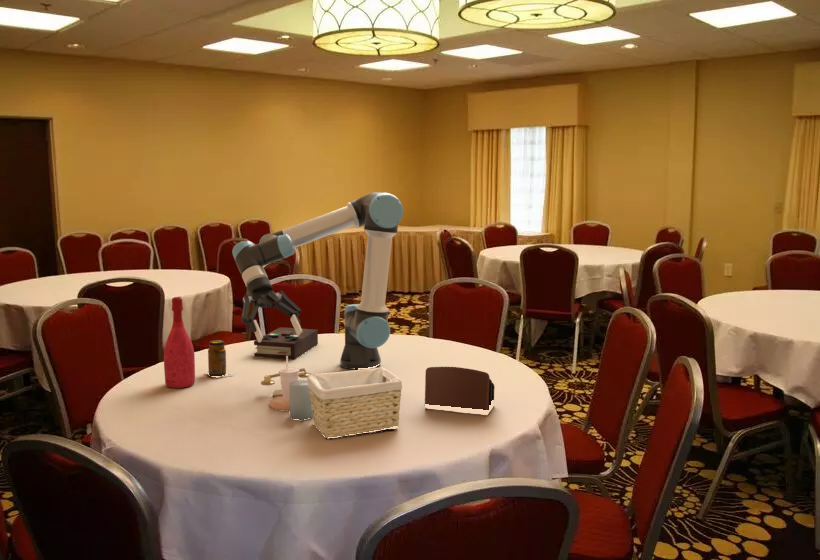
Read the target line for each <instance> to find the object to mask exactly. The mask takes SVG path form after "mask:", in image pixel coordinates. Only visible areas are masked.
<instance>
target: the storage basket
mask: <svg viewBox="0 0 820 560" xmlns="http://www.w3.org/2000/svg"><path fill="white" fill-rule="evenodd" d="M307 381H308V388H309V391H310V396H311V397H310V400H311V403H312V404H311V408H312V414H313V418H312V424H313V426H314V425H315V426H316V427H317V428H318V429H317V428H316V427H315V426H314V427H315V428H316V429H317V431H318V430H320V432H321V433H322V434H321V433H320V432H319V433H320V434H321V436H322V435H324V436H325V438H328V437H337V436H345V435H349V434H357V433H363V432H369V431H374V430H381V429H384V428H390V427H393V426H398V425H399V424H400V423H399V422H400V409H401V408H400V407H401V396H402V388H403V384H402V383H403V382H402V380H401V379H400V378H399V377H398V376H397V375H395V374H394V373H393V372H391V370H388V369H386V368H384V367H382V366H381V367H380V366H379V367H376V368H370V369H360V370H355V369H351V370H344V371H336V372H335V371H334V372H325V373H312V374H311V375H309V376H308V377H307ZM398 427H399V426H398ZM325 438H324V439H325Z"/></svg>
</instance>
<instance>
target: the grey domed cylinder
mask: <svg viewBox="0 0 820 560" xmlns="http://www.w3.org/2000/svg"><path fill="white" fill-rule="evenodd" d="M310 397H311V396H310V391H309V388H308V379H307V380H306V379H303V380H299V379H298V381H293V382H291V383H289V406H290V411H289V419H291V418H292V419H291V420H293V419H299V420H302V421H305V420H304V419H308V418H311V419H313V418H312V417H313V414H312V408H311V404H312V403H311V400H310ZM299 420H298V421H299Z"/></svg>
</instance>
